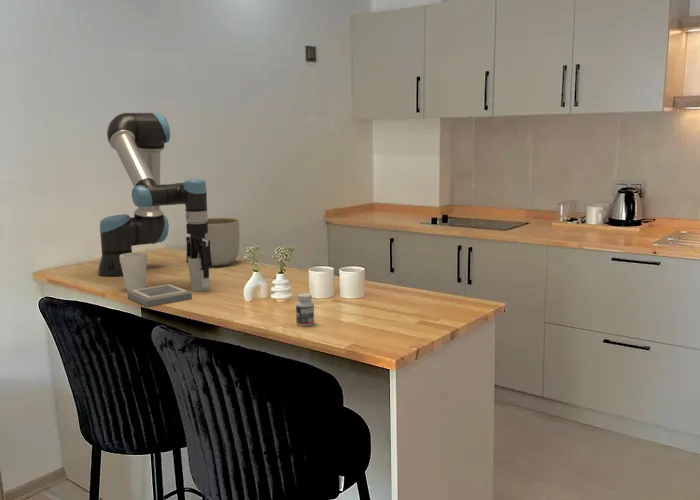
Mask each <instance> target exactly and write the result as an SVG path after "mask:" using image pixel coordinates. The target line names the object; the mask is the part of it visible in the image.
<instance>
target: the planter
mask: <svg viewBox="0 0 700 500" xmlns="http://www.w3.org/2000/svg"><path fill="white" fill-rule="evenodd" d="M206 223H207V224H208V233H206V234H205V238H206V240H210V252H211V261H212V267H223V266H228V265H231V264H233V262H234V261H236V259H237V258H238V256H239V253H240V219H238V218H231V217H208V221H207V222H206ZM198 255H199V253H198Z"/></svg>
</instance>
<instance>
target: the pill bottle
mask: <svg viewBox="0 0 700 500" xmlns="http://www.w3.org/2000/svg"><path fill="white" fill-rule="evenodd" d="M312 297H313V296H312V293H307V292H304V293H299V294H298V295H297V300H298V301H297V302H296V303H295V311H296V312H295V313H296V314H295V315H296V324H297V326H300V327H309V326H313V325H314V324H315V310H314V309H315V306H314V302H313V300H312V299H313V298H312Z"/></svg>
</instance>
